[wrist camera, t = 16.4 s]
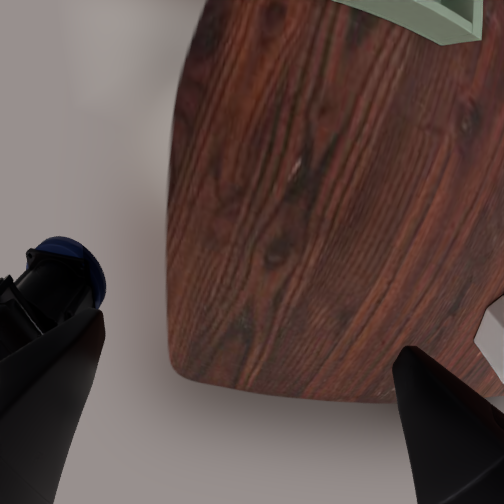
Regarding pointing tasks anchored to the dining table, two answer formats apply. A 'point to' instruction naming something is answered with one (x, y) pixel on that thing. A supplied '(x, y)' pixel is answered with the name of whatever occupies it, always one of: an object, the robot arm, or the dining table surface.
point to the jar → (493, 336)
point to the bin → (430, 17)
